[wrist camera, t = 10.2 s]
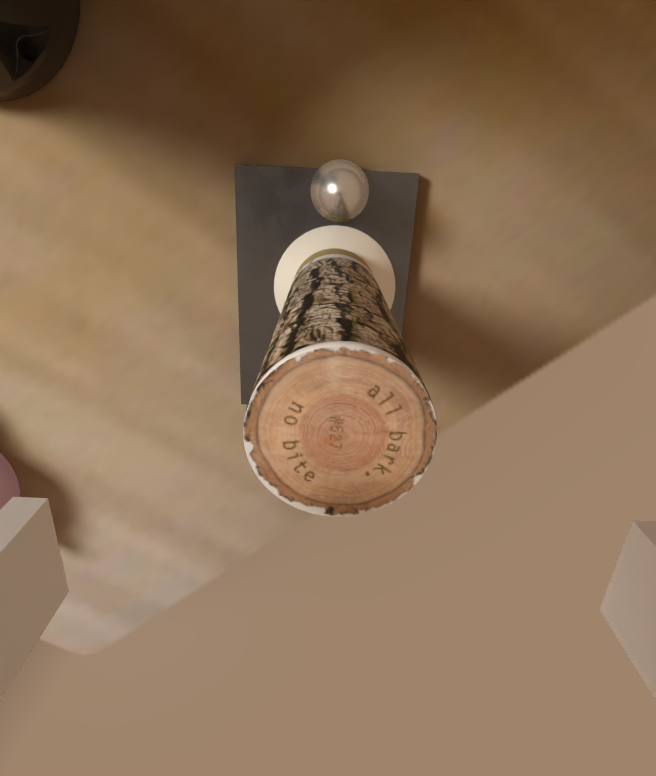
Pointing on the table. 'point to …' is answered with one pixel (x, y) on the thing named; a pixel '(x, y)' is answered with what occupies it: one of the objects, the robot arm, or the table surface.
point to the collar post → (339, 190)
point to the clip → (7, 482)
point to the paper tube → (338, 396)
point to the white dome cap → (334, 239)
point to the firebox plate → (288, 222)
